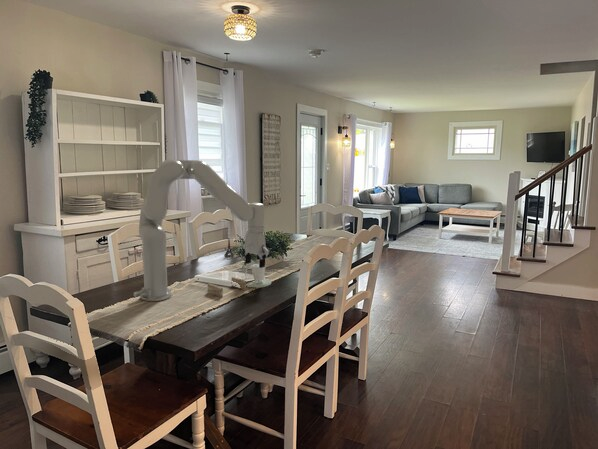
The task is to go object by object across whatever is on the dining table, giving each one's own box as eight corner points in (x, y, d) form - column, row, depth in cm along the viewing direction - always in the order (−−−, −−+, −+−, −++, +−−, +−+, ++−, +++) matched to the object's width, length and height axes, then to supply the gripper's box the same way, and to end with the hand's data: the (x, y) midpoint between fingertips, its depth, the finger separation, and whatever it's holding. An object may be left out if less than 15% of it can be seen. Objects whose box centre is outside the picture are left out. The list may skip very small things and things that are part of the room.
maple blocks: (220, 297, 196) (220, 288, 195) (207, 292, 202) (207, 283, 201) (246, 289, 207) (246, 281, 206) (233, 285, 213) (233, 276, 212)
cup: (264, 284, 212) (263, 267, 211) (243, 283, 213) (243, 266, 212) (267, 280, 218) (267, 264, 217) (247, 279, 220) (247, 263, 219)
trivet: (255, 289, 207) (255, 288, 206) (235, 283, 216) (235, 282, 216) (277, 283, 217) (277, 281, 217) (257, 277, 226) (257, 275, 226)
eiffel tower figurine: (229, 260, 258) (228, 237, 256) (214, 258, 263) (214, 236, 260) (244, 255, 271) (243, 233, 269) (230, 253, 276) (229, 231, 273)
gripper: (237, 227, 214) (237, 262, 217) (262, 233, 203) (261, 270, 206) (249, 226, 220) (248, 260, 223) (274, 231, 209) (273, 267, 211)
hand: (255, 265), depth 214 cm, fingers open, 9 cm apart
